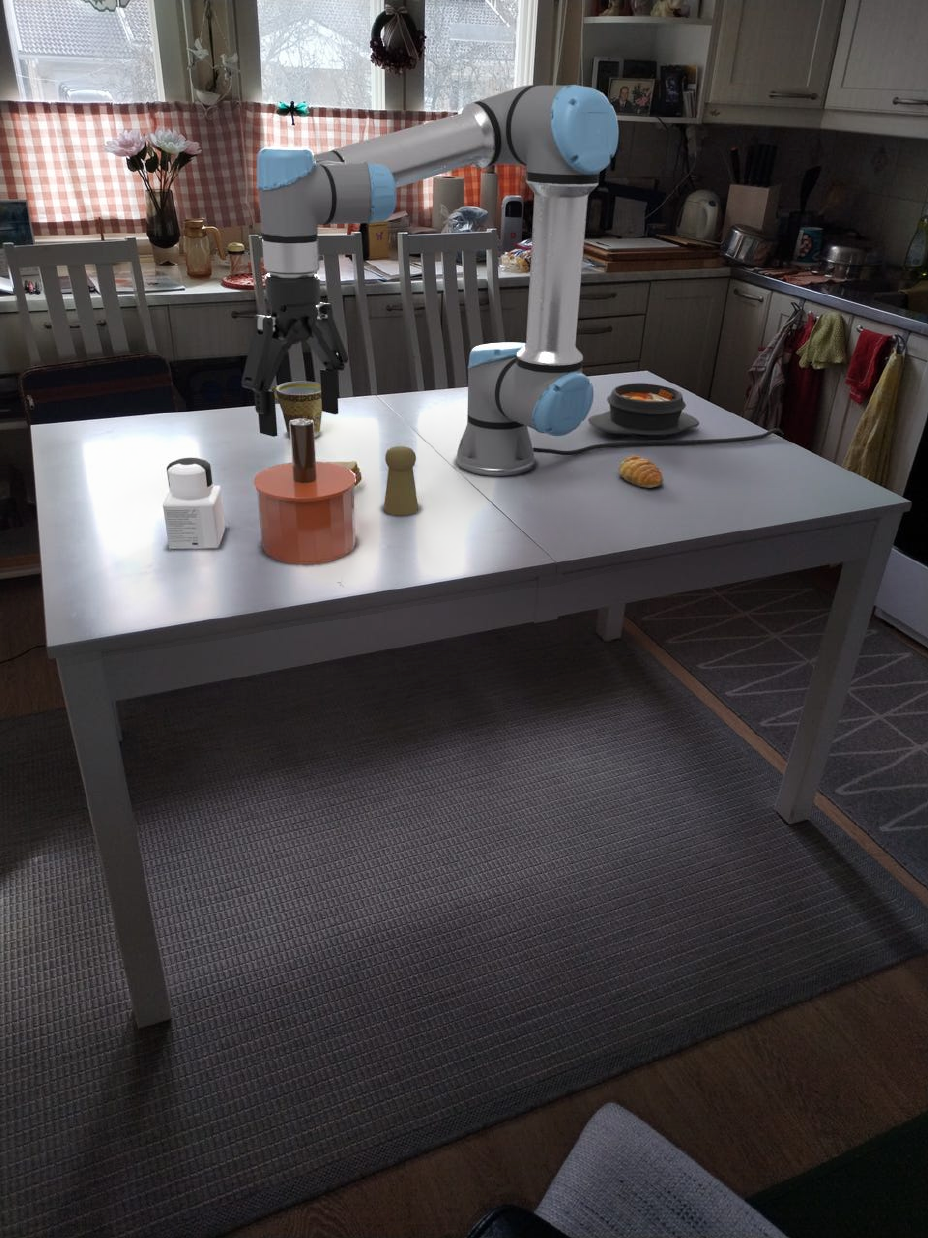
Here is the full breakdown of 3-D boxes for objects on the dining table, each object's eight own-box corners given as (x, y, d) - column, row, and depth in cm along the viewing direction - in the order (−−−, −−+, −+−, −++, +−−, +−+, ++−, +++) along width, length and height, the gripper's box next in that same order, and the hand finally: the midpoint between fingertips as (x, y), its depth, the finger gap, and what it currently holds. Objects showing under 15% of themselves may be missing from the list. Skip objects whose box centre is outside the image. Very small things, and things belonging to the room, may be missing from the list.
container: (177, 529, 151) (167, 453, 144) (225, 528, 151) (217, 453, 145) (168, 549, 144) (157, 471, 138) (219, 549, 145) (209, 470, 138)
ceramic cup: (337, 433, 195) (335, 386, 190) (306, 445, 188) (302, 397, 183) (290, 421, 201) (287, 376, 196) (258, 433, 194) (254, 386, 189)
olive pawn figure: (413, 517, 158) (413, 455, 152) (379, 513, 159) (378, 452, 153) (421, 503, 163) (422, 444, 157) (388, 500, 164) (388, 440, 158)
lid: (362, 470, 149) (361, 408, 144) (347, 507, 135) (344, 440, 130) (267, 466, 149) (262, 404, 144) (242, 503, 136) (235, 436, 131)
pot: (361, 527, 153) (359, 467, 148) (347, 566, 141) (344, 502, 135) (274, 523, 154) (269, 463, 149) (252, 562, 141) (246, 498, 136)
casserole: (671, 413, 214) (676, 377, 210) (714, 438, 199) (721, 400, 195) (573, 421, 207) (576, 384, 202) (610, 448, 191) (615, 408, 187)
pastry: (671, 487, 173) (674, 468, 171) (641, 492, 170) (644, 473, 168) (642, 470, 180) (644, 452, 178) (613, 475, 178) (615, 456, 176)
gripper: (329, 259, 138) (335, 399, 148) (204, 280, 119) (220, 439, 130) (369, 265, 134) (372, 408, 145) (246, 288, 116) (260, 450, 126)
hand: (300, 423), depth 137 cm, fingers open, 13 cm apart
